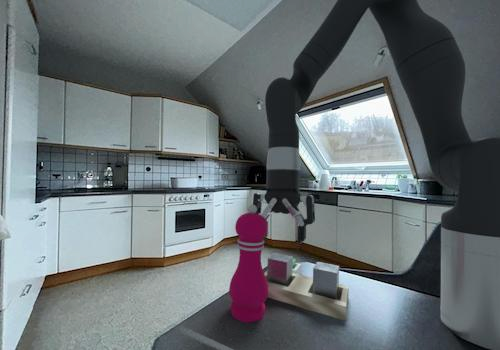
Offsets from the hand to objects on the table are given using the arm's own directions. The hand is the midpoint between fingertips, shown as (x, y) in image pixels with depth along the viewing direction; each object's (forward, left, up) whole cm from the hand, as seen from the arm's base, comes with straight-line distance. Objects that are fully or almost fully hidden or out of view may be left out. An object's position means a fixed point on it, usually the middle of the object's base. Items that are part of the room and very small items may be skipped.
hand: (281, 240), depth 49 cm
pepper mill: (+2, +11, -12) cm, 16 cm away
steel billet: (0, 0, -11) cm, 11 cm away
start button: (+1, -9, -9) cm, 13 cm away
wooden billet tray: (-5, 0, -11) cm, 12 cm away
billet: (-10, 0, -11) cm, 15 cm away
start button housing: (+1, -9, -11) cm, 14 cm away
